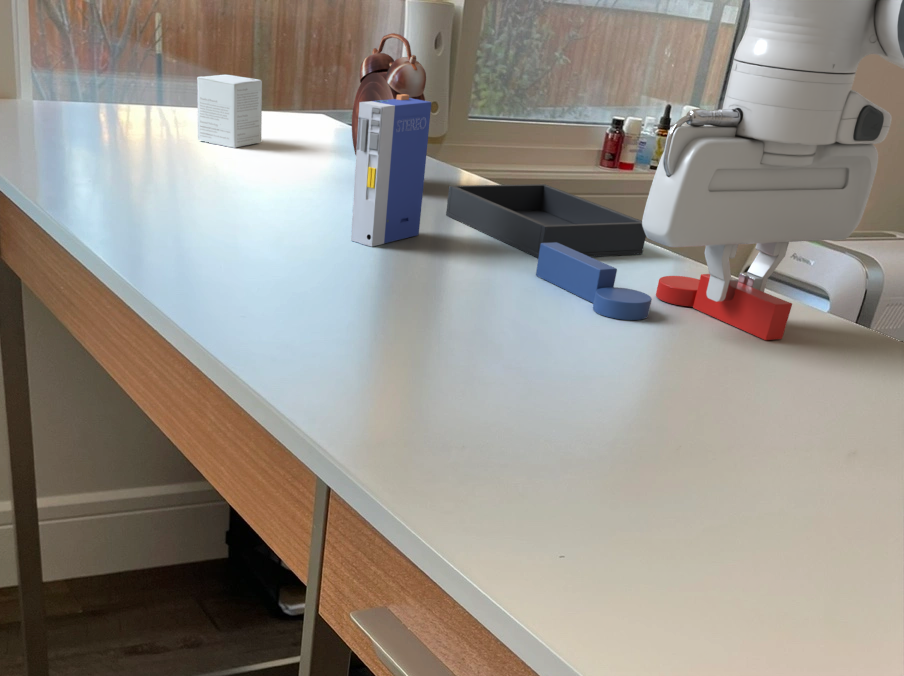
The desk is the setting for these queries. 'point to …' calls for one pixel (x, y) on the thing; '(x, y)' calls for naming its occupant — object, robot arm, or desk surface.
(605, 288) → the blue spoon
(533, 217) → the tray
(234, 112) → the product box
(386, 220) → the walkman
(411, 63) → the alarm clock
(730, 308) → the red spoon
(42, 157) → the desk surface
